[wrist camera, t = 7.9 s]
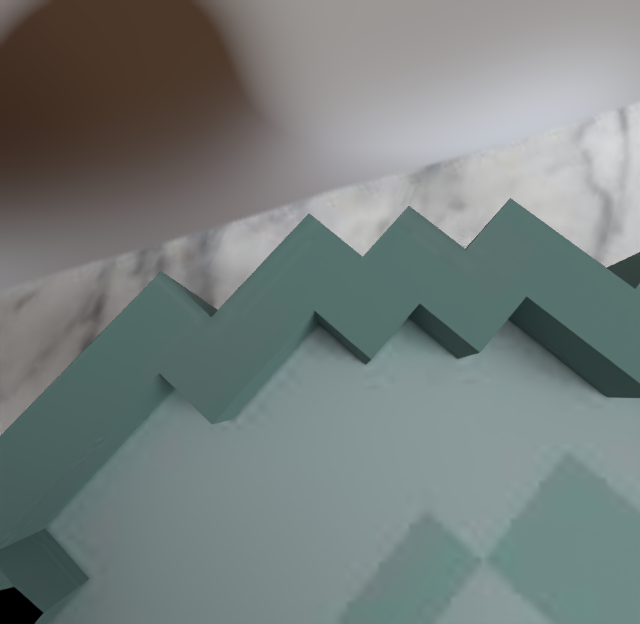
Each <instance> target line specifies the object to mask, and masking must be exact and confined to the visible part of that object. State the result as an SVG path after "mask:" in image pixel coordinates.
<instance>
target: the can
mask: <svg viewBox="0 0 640 624" xmlns="http://www.w3.org/2000/svg"><path fill="white" fill-rule="evenodd" d="M0 624H640V252H639V253H637V254H635V255H633V256H631V257H629V258H627V259H624V260H622V261H620V262H618V263H616V264H614V265H611V266H609V267H607V268H606V267H604V266H603V265H602V264H600V263H599V262H597V261H596V260H595V259H593V258H592V257H591V256H589V255H588V254H586V253H585V252H584V251H582V250H581V249H580V248H578V247H577V246H575V245H574V244H573V243H571V242H570V241H569V240H567V239H566V238H564V237H563V236H562V235H560V234H559V233H558V232H556V231H555V230H553V229H552V228H551V227H549V226H548V225H547V224H545V223H544V222H542V221H541V220H540V219H538V218H537V217H536V216H534V215H533V214H531V213H530V212H529V211H527V210H526V209H525V208H523V207H522V206H520V205H519V204H518V203H516V202H515V201H514V200H512V199H511V198H510V199H509V200H508V201H507V203H506V204H505V205H504V206H503V207H502V208H501V209H500V211H499V212H498V213H497V214H496V215H495V216H494V217H493V218H492V220H491V221H490V222H489V223H488V224H487V225H486V226H485V227H484V229H483V230H482V231H481V232H480V233H479V234H478V235H477V236H476V238H475V239H474V240H473V241H472V242H471V243H470V244H469V245H468V247H467V248H466V249H464V248H463V247H462V246H461V245H459V244H458V243H457V242H455V241H454V240H453V239H451V238H450V237H449V236H447V235H446V234H445V233H444V232H442V231H441V230H440V229H438V228H437V227H436V226H434V225H433V224H432V223H431V222H429V221H428V220H427V219H425V218H424V217H423V216H421V215H420V214H419V213H418V212H416V211H415V210H414V209H412V208H411V207H410V206H408V207H407V208H406V210H405V211H404V212H403V213H402V214H401V215H400V216H399V217H398V218H397V220H396V221H395V222H394V223H393V224H392V225H391V226H390V227H389V228H388V230H387V231H386V232H385V233H384V234H383V235H382V236H381V237H380V238H379V240H378V241H377V242H376V243H375V244H374V245H373V246H372V247H371V248H370V250H369V251H368V252H367V253H366V254H365V255H364V256H363V257H362V256H361V255H360V254H358V253H357V252H356V251H355V250H353V249H352V248H351V247H350V246H349V245H347V244H346V243H345V242H344V241H342V240H341V239H340V238H339V237H337V236H336V235H335V234H334V233H333V232H331V231H330V230H329V229H328V228H326V227H325V226H324V225H323V224H322V223H320V222H319V221H318V220H317V219H315V218H314V217H313V216H312V215H310V214H308V215H307V216H306V217H305V218H304V219H303V220H302V221H301V222H300V223H299V224H298V226H297V227H296V228H295V229H294V230H293V231H292V232H291V233H290V234H289V235H288V236H287V237H286V238H285V239H284V240H283V242H282V243H281V244H280V245H279V246H278V247H277V248H276V249H275V250H274V251H273V252H272V253H271V254H270V255H269V256H268V258H267V259H266V260H265V261H264V262H263V263H262V264H261V265H260V266H259V267H258V268H257V269H256V270H255V271H254V272H253V273H252V275H251V276H250V277H249V278H248V279H247V280H246V281H245V282H244V283H243V284H242V285H241V286H240V287H239V288H238V289H237V291H236V292H235V293H234V294H233V295H232V296H231V297H230V298H229V299H228V300H227V301H226V302H225V303H224V304H223V305H222V307H221V308H220V309H219V310H217V309H216V308H214V307H213V306H211V305H210V304H208V303H207V302H205V301H204V300H202V299H201V298H199V297H198V296H197V295H195V294H194V293H192V292H191V291H189V290H188V289H186V288H185V287H183V286H182V285H180V284H179V283H177V282H176V281H175V280H173V279H172V278H170V277H169V276H167V275H166V274H164V273H163V272H160V273H159V274H158V275H157V276H156V277H155V278H154V279H153V280H152V281H151V282H150V283H149V284H148V285H147V286H146V287H145V288H144V289H143V291H142V292H141V293H140V294H139V295H138V296H137V297H136V298H135V299H134V300H133V301H132V302H131V303H130V304H129V305H128V306H127V307H126V308H125V309H124V310H123V311H122V312H121V313H120V314H119V315H118V316H117V317H116V318H115V319H114V320H113V321H112V322H111V323H110V324H109V325H108V326H107V327H106V328H105V329H104V330H103V331H102V333H101V334H100V335H99V336H98V337H97V338H96V339H95V340H94V341H93V342H92V343H91V344H90V345H89V346H88V347H87V348H86V349H85V350H84V351H83V352H82V353H81V354H80V355H79V356H78V357H77V358H76V359H75V360H74V361H73V362H72V363H71V364H70V365H69V366H68V367H67V368H66V369H65V370H64V371H63V372H62V373H61V375H60V376H59V377H58V378H57V379H56V380H55V381H54V382H53V383H52V384H51V385H50V386H49V387H48V388H47V389H46V390H45V391H44V392H43V393H42V394H41V395H40V396H39V397H38V398H37V399H36V400H35V401H34V402H33V403H32V404H31V405H30V406H29V407H28V408H27V409H26V410H25V411H24V412H23V413H22V414H21V416H20V417H19V418H18V419H17V420H16V421H15V422H14V423H13V424H12V425H11V426H10V427H9V428H8V429H7V430H6V431H5V432H4V433H3V434H2V435H1V436H0Z"/></svg>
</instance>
